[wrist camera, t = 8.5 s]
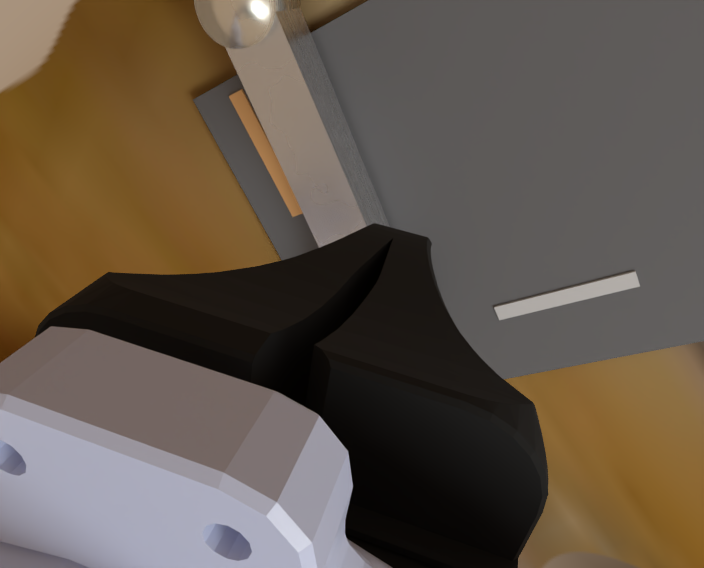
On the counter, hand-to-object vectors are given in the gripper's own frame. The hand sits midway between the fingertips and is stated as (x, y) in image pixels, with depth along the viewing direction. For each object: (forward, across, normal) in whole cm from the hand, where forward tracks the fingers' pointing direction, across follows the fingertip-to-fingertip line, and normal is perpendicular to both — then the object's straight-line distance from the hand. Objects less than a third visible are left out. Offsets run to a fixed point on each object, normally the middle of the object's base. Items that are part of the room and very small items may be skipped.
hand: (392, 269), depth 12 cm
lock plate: (+9, -1, +1) cm, 9 cm away
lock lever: (+8, +4, +1) cm, 9 cm away
